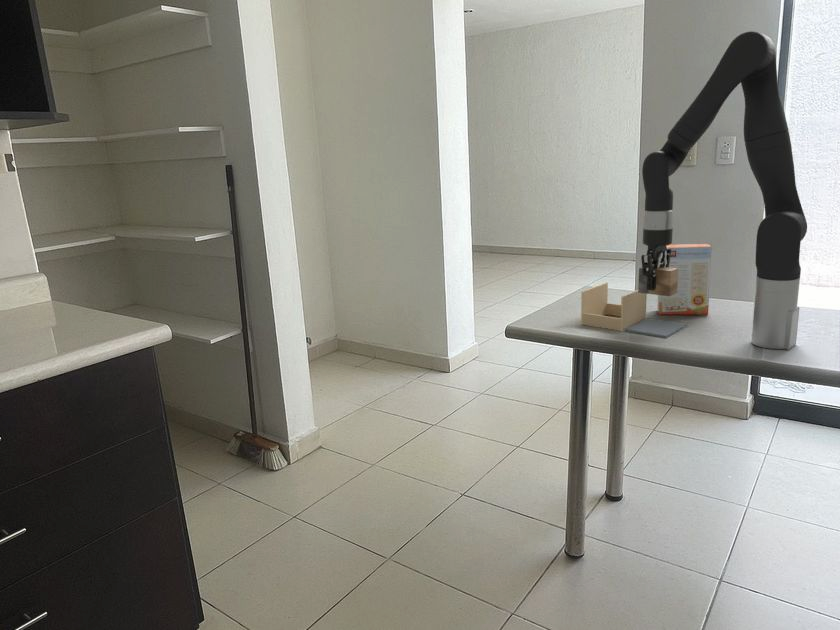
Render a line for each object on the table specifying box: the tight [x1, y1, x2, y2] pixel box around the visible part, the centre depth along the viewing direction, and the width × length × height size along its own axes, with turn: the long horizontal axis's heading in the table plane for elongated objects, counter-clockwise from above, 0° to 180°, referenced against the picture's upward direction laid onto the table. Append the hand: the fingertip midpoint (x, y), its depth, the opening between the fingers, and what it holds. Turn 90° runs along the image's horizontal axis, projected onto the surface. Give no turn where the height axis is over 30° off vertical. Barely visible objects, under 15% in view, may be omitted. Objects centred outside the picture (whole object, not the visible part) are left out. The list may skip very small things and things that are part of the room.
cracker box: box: [657, 243, 712, 316], centre depth 183 cm, size 14×6×21 cm, turn 74°
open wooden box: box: [580, 281, 648, 332], centre depth 179 cm, size 13×15×10 cm
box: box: [637, 266, 678, 296], centre depth 168 cm, size 9×5×7 cm, turn 45°
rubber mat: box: [624, 317, 689, 339], centre depth 171 cm, size 12×14×1 cm
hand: (655, 287), depth 169 cm, fingers closed on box, 4 cm apart
